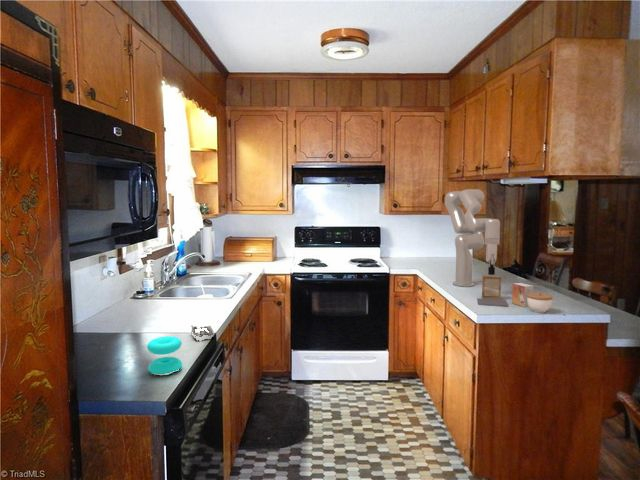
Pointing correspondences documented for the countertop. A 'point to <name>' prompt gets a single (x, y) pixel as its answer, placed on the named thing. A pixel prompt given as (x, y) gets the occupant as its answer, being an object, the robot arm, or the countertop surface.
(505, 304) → the mat
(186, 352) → the countertop surface
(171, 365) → the donuts
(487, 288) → the slab
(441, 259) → the countertop surface
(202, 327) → the egg carton
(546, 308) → the lidded jar
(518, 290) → the small box
